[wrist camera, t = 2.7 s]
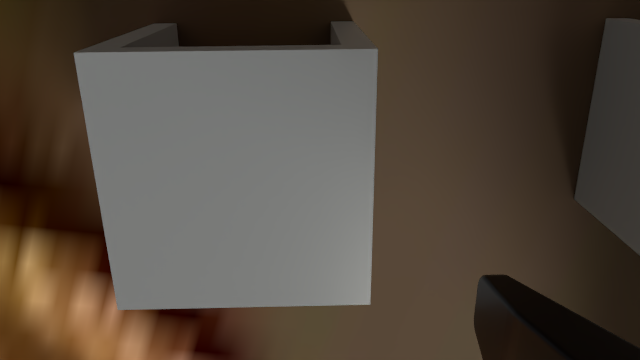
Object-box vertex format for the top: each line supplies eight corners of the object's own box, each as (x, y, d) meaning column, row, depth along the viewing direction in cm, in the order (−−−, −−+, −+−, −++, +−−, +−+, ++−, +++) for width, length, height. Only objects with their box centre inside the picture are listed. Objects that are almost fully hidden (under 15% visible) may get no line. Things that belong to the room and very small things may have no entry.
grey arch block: (353, 21, 19) (377, 48, 13) (350, 203, 22) (370, 304, 15) (153, 23, 19) (73, 52, 12) (175, 206, 21) (117, 310, 15)
